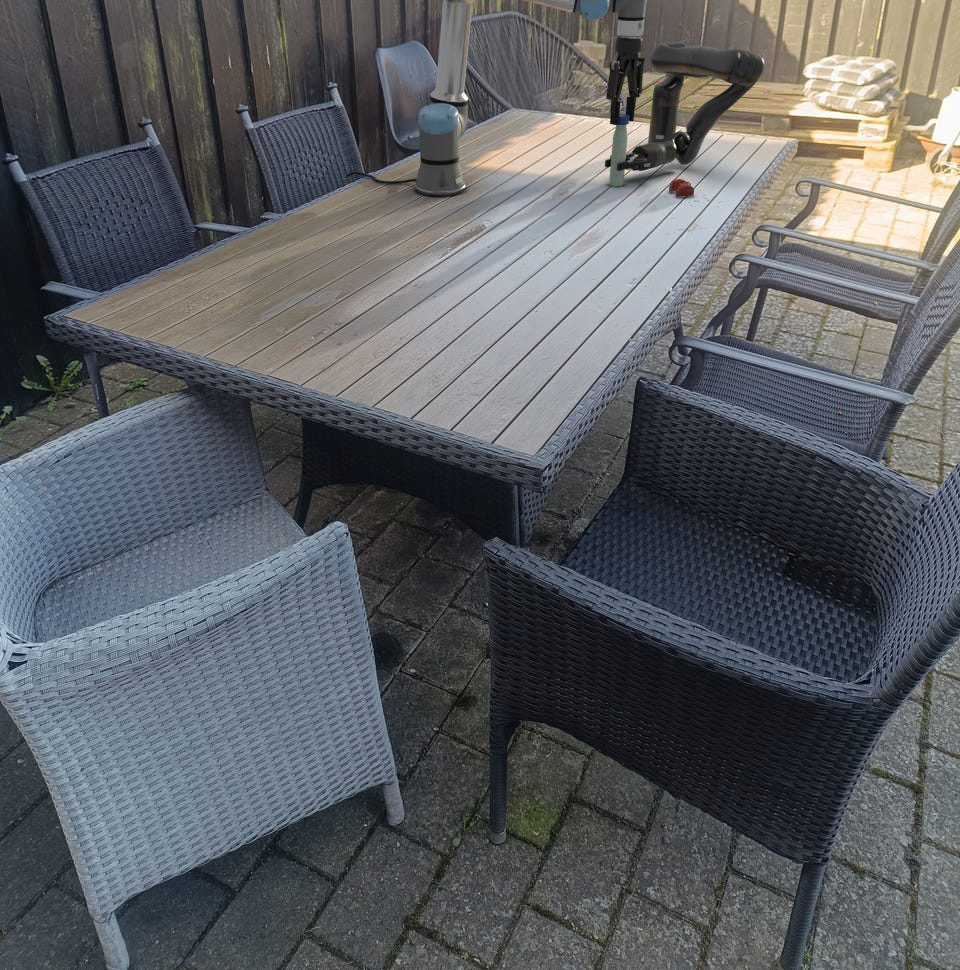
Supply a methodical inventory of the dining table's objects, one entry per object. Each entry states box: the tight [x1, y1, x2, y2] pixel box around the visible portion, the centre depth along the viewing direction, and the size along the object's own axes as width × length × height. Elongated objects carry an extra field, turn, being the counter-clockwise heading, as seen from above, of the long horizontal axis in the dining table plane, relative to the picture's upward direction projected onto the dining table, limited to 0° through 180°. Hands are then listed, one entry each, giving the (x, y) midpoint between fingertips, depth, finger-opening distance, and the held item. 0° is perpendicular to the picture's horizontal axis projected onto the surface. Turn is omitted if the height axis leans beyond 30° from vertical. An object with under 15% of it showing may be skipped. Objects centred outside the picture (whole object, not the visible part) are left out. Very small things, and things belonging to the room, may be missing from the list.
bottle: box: [608, 124, 629, 187], centre depth 258 cm, size 4×4×19 cm
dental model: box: [668, 178, 695, 198], centre depth 254 cm, size 6×4×8 cm
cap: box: [619, 113, 630, 126], centre depth 252 cm, size 4×4×2 cm
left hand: (621, 122), depth 253 cm, fingers open, 7 cm apart
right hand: (611, 165), depth 258 cm, fingers closed on bottle, 4 cm apart
